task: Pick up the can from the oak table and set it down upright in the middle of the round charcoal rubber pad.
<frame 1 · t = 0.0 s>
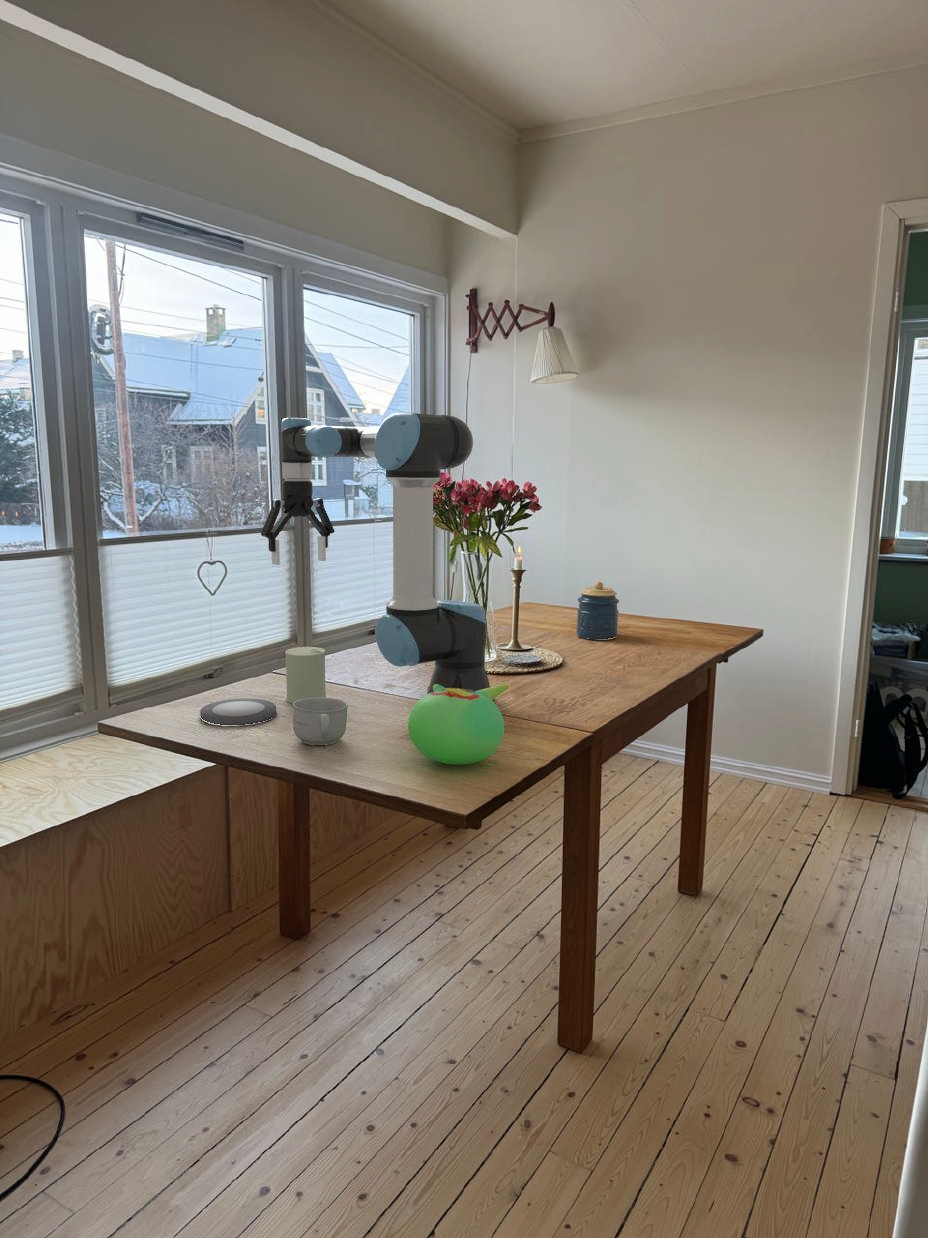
hand: (299, 562, 227), 28 cm above the table, tool pointing down, fingers open, 13 cm apart
canister: (596, 637, 276), on the table
green round lump: (456, 761, 165), on the table
teacup: (320, 745, 173), on the table
pad: (238, 715, 190), on the table
can: (306, 700, 203), on the table
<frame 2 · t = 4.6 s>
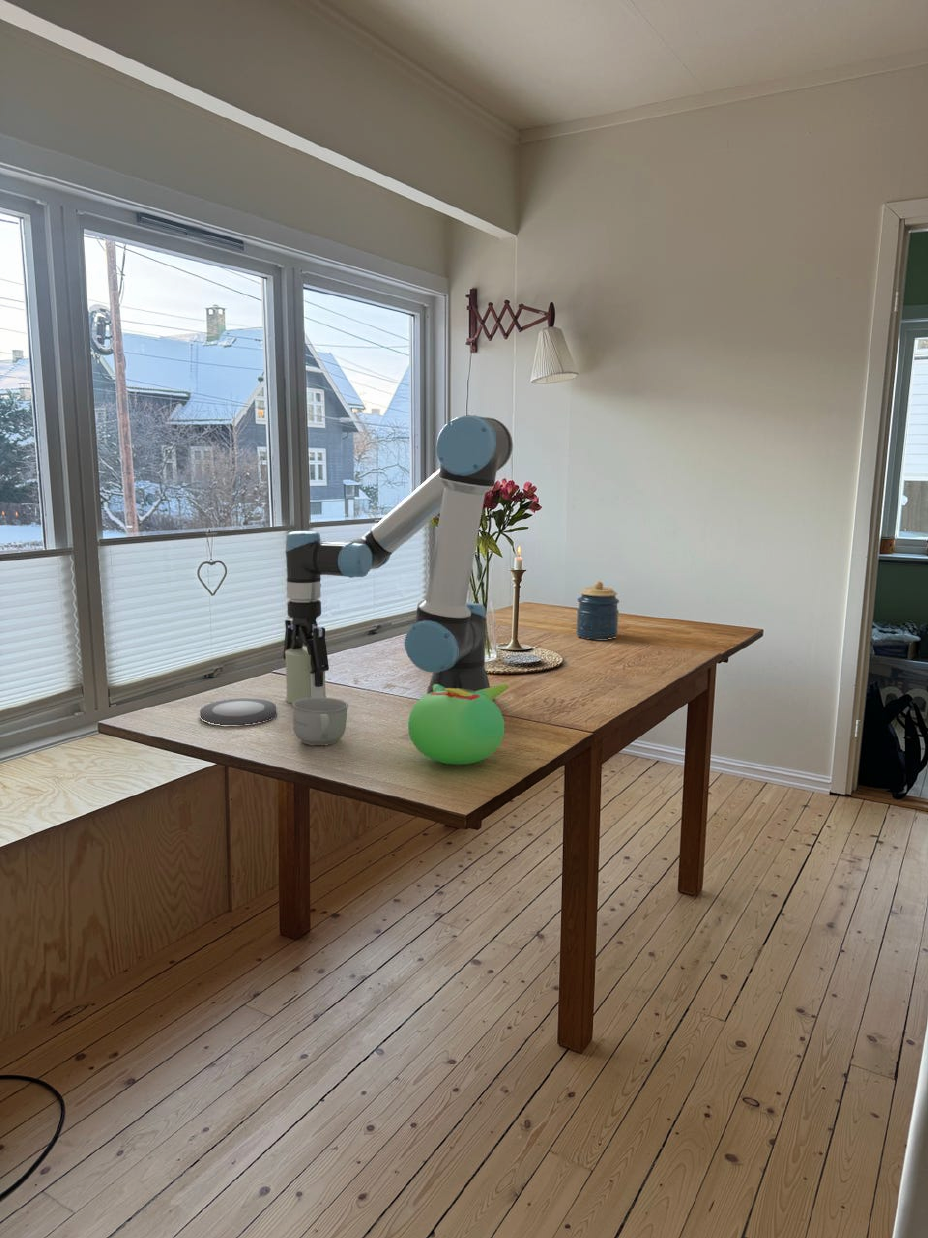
hand: (306, 695, 203), 1 cm above the table, tool pointing down, fingers closed on can, 9 cm apart
can: (306, 699, 203), on the table, touching gripper
everything else where it was.
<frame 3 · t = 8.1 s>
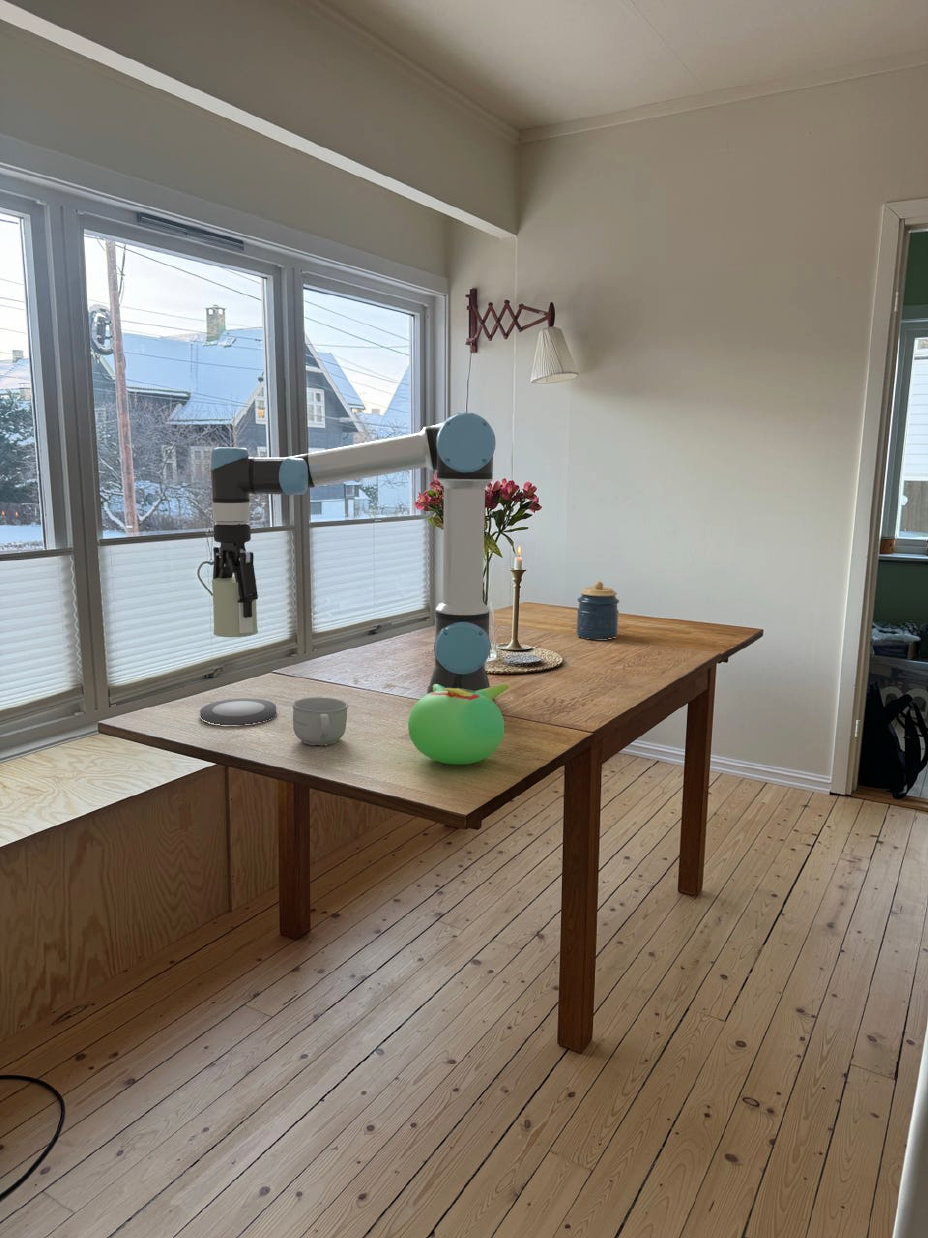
hand: (235, 628, 187), 19 cm above the table, tool pointing down, fingers closed on can, 9 cm apart
can: (235, 633, 187), point 18 cm above the table, touching gripper
everything else where it was.
when the fingers open (4 cm above the table, at t = 11.8 s): can drops 1 cm, resting on pad.
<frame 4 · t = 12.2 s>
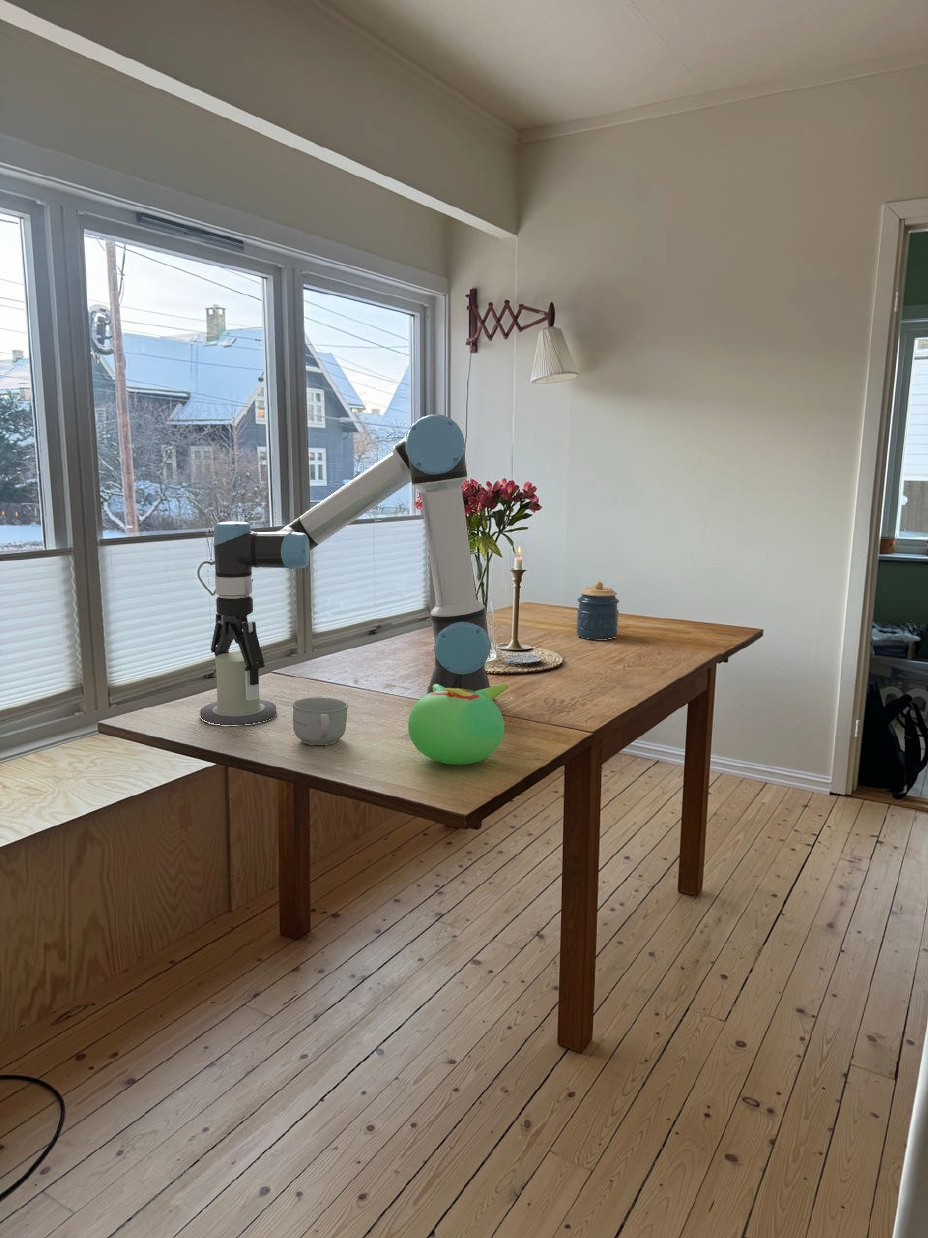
hand: (237, 692, 189), 5 cm above the table, tool pointing down, fingers open, 13 cm apart
can: (238, 709, 190), point 1 cm above the table, touching pad
everything else where it was.
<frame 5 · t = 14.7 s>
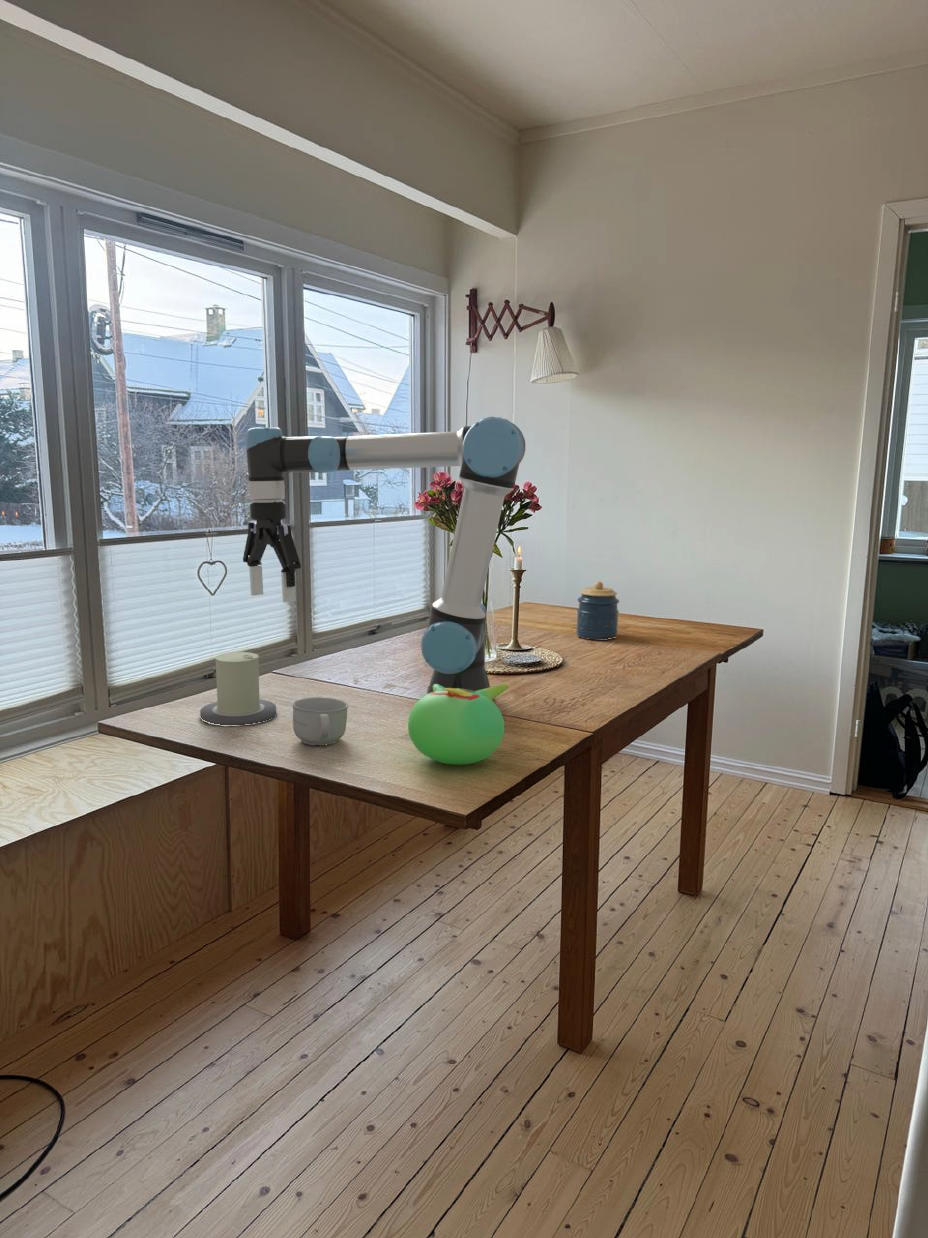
hand: (272, 598, 192), 25 cm above the table, tool pointing down, fingers open, 13 cm apart
nothing on the table moved.
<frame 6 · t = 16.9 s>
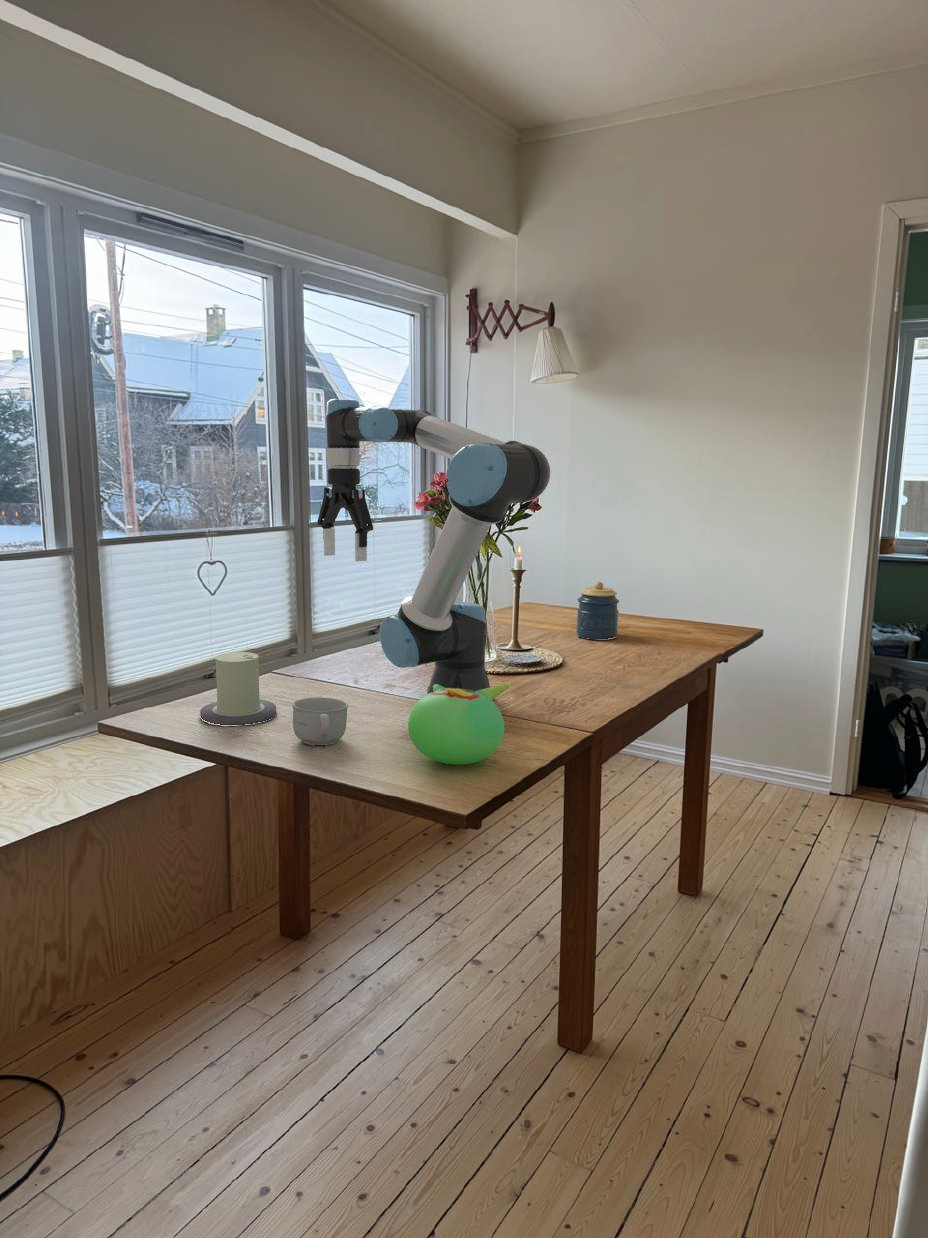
hand: (344, 558, 208), 32 cm above the table, tool pointing down, fingers open, 13 cm apart
nothing on the table moved.
at the end: can 0.1 cm from the pad (horizontally); can tilted 0°; can touching pad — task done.
